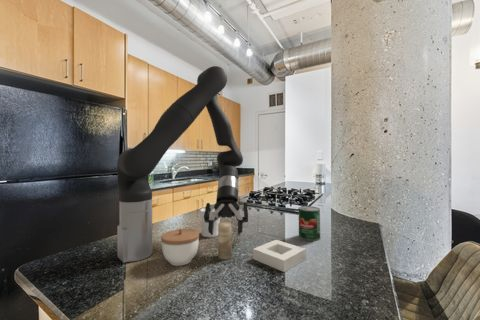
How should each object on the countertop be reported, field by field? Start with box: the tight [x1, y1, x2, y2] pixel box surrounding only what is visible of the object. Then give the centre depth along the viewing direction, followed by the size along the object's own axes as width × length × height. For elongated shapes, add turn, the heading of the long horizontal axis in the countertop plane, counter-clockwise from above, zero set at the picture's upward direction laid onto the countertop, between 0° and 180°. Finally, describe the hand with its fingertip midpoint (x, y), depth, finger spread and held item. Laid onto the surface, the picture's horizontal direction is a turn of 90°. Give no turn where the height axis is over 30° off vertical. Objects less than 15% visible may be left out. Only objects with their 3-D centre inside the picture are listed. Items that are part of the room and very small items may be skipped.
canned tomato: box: [297, 205, 322, 242], centre depth 85 cm, size 8×8×11 cm
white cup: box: [199, 207, 221, 238], centre depth 88 cm, size 8×8×10 cm
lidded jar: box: [160, 227, 200, 267], centre depth 65 cm, size 11×11×9 cm
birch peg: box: [217, 221, 233, 261], centre depth 68 cm, size 4×4×10 cm
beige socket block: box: [252, 239, 307, 273], centre depth 66 cm, size 11×11×3 cm
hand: (225, 233), depth 68 cm, fingers open, 8 cm apart
